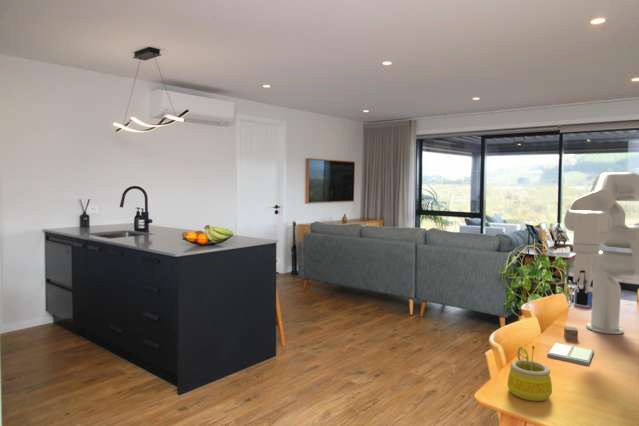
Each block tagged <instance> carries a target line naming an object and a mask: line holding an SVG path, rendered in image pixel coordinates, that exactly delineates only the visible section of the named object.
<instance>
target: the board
mask: <svg viewBox="0 0 639 426" xmlns="http://www.w3.org/2000/svg"><path fill="white" fill-rule="evenodd" d="M594 354H595V352H594V349H589V348H586V347H580V346H576V345H575V346H574V345H570V344H566V343H565V344H564V343H560V342H559V343H558V342H554V343H553V345H552V346H551V348H550V349H549V351H548V352H547V354H546V355H547V356H546V357H547V358H552V359H556V360H561V361H566V362H571V363H576V364H580V365H585V366H590V363H591V361H592V359H593V355H594Z"/></svg>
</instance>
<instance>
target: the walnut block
mask: <svg viewBox="0 0 639 426" xmlns="http://www.w3.org/2000/svg"><path fill="white" fill-rule="evenodd" d="M563 328H564V329H563V337H564V340H566V341H574V342H575V341H576V342H578V339H579V330H578V328H577V327H574V326H567V325H565V326H564V327H563Z"/></svg>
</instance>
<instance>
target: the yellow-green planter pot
mask: <svg viewBox="0 0 639 426" xmlns="http://www.w3.org/2000/svg"><path fill="white" fill-rule="evenodd" d="M531 348H532V350H531V351H532V353H531V360H530V357H529V354H528V351H527V349H526V348H525V347H523V346H519V347H518V349H517V353H516V354H517V360H515V361H513V362H511V363H510V370H509V374H508V378H507V388H508V391H510V393H511V394H512V395H514V396H516V397H518V398H520V399H523V400H525V401H532V402H540V401H546V400H547V399H549V398H550V396H551V395H552V393H553V388H552V387H553V385H552V379H551V376H550V374H551V371H550V369H549V367H547V366H546V365H545V364H543V363H540V362H537V361H534V350H535V349H536V347H535V345H532V346H531ZM520 356H521V357H520Z"/></svg>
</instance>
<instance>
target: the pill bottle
mask: <svg viewBox="0 0 639 426" xmlns="http://www.w3.org/2000/svg"><path fill="white" fill-rule="evenodd" d="M584 283H586V282H584ZM576 284H577V285H575V286H574V290H573V309H575V310H579V311H585V312H589V311H592V299H593V286H591V285H592V282H591V283H590V284H588V288H587V293H588V303H587V305H580V304H576V296H577V287H578V281H577V282H576Z"/></svg>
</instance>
